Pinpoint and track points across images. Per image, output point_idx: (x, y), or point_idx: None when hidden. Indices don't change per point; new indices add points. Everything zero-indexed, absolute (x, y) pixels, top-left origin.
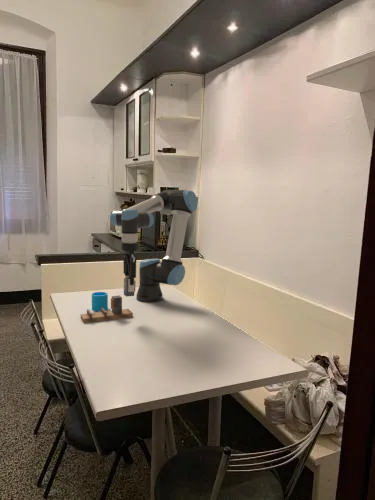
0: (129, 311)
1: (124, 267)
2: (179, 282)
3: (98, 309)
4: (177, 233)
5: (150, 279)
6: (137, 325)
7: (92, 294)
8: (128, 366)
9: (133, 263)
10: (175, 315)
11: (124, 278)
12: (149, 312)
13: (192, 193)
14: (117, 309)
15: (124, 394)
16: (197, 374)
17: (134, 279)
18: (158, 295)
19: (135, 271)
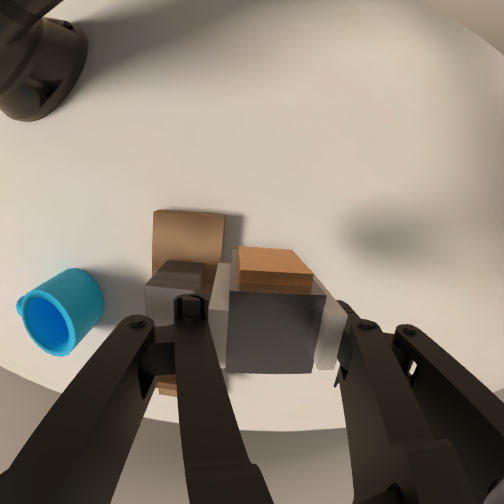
0: (195, 222)
1: (138, 422)
2: None
3: (99, 316)
4: None
5: (14, 41)
6: (333, 240)
7: (51, 352)
8: (489, 343)
9: (500, 453)
10: (293, 48)
11: (234, 370)
12: (200, 120)
13: None
14: (201, 290)
15: None
16: None
17: (323, 295)
18: (73, 34)
19: (453, 366)
